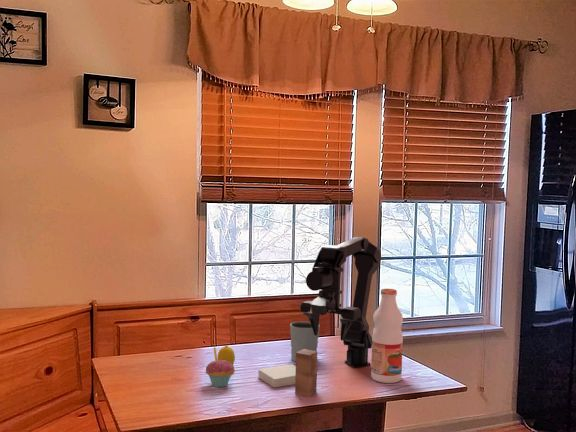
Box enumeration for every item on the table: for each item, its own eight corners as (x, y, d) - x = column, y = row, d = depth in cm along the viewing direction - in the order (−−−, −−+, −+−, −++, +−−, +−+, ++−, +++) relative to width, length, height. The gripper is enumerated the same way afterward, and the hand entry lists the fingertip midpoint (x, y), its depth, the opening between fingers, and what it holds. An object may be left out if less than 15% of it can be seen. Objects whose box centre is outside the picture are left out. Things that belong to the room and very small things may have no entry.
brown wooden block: (303, 389, 172) (304, 348, 171) (316, 392, 169) (317, 351, 169) (295, 393, 168) (295, 352, 167) (308, 396, 166) (309, 355, 165)
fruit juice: (377, 371, 189) (379, 286, 187) (405, 377, 184) (408, 289, 183) (366, 380, 181) (368, 290, 179) (395, 385, 176) (398, 293, 175)
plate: (291, 371, 187) (291, 364, 187) (308, 381, 179) (308, 373, 179) (258, 377, 181) (258, 369, 181) (274, 387, 173) (274, 379, 172)
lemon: (231, 373, 184) (232, 348, 184) (215, 372, 186) (215, 347, 185) (236, 368, 190) (237, 343, 189) (220, 366, 191) (220, 342, 190)
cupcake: (211, 390, 169) (211, 349, 168) (201, 381, 176) (201, 342, 176) (238, 386, 173) (239, 346, 172) (228, 377, 180) (228, 339, 180)
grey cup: (283, 358, 201) (284, 324, 200) (302, 352, 209) (303, 319, 208) (306, 365, 194) (307, 329, 194) (324, 358, 202) (325, 324, 201)
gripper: (290, 286, 177) (288, 337, 178) (345, 293, 167) (343, 348, 167) (309, 282, 187) (307, 331, 187) (362, 289, 176) (360, 341, 177)
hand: (328, 337), depth 179 cm, fingers open, 9 cm apart
